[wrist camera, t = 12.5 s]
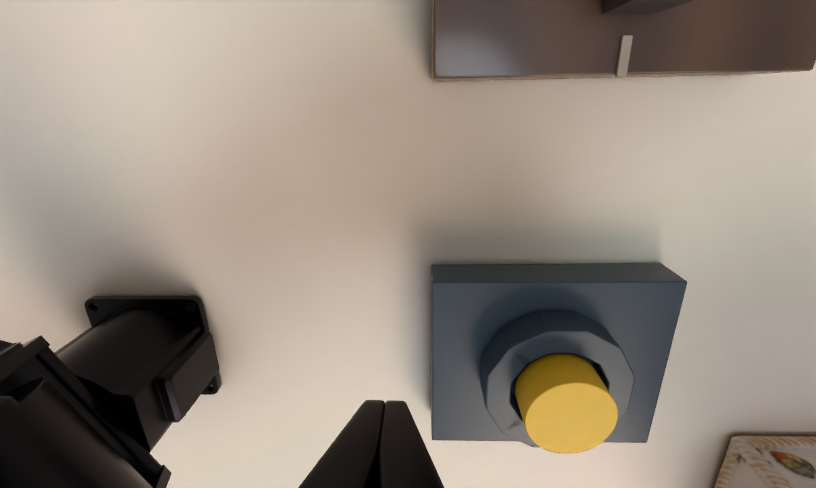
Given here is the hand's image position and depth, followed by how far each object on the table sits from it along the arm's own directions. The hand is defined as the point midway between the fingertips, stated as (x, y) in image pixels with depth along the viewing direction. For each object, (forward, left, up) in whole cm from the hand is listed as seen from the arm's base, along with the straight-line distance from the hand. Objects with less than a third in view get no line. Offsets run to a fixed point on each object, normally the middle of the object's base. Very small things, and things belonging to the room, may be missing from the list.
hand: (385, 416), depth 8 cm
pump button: (+7, -7, -9) cm, 14 cm away
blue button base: (+7, -7, -13) cm, 16 cm away
